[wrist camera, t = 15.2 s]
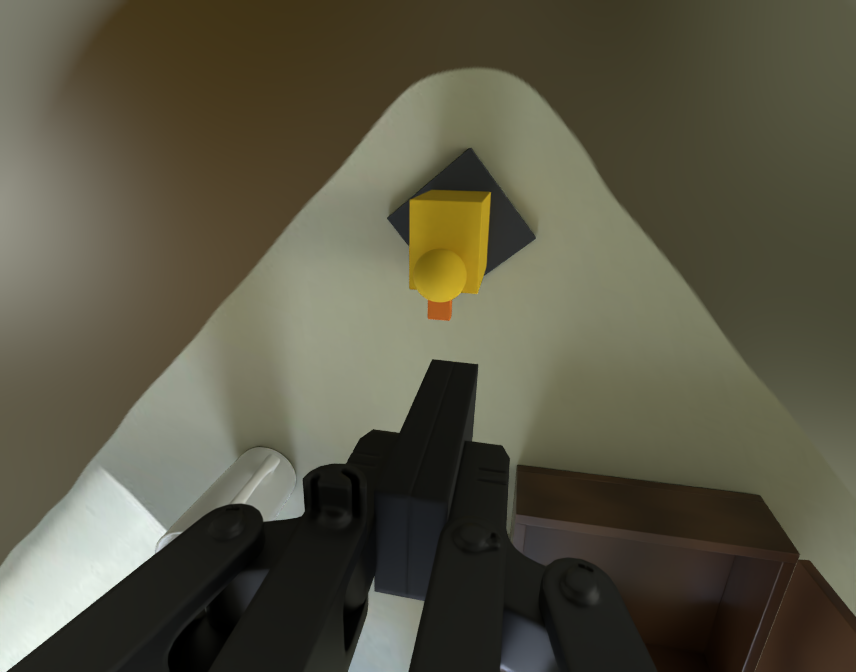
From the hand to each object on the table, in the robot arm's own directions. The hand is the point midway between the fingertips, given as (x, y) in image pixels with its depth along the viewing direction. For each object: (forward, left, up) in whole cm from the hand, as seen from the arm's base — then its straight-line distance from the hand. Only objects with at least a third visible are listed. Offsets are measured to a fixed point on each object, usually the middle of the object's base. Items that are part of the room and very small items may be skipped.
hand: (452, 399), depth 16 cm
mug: (+30, +4, -23) cm, 38 cm away
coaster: (+1, -3, -23) cm, 23 cm away
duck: (+1, -3, -23) cm, 23 cm away
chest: (+8, +30, -23) cm, 39 cm away
